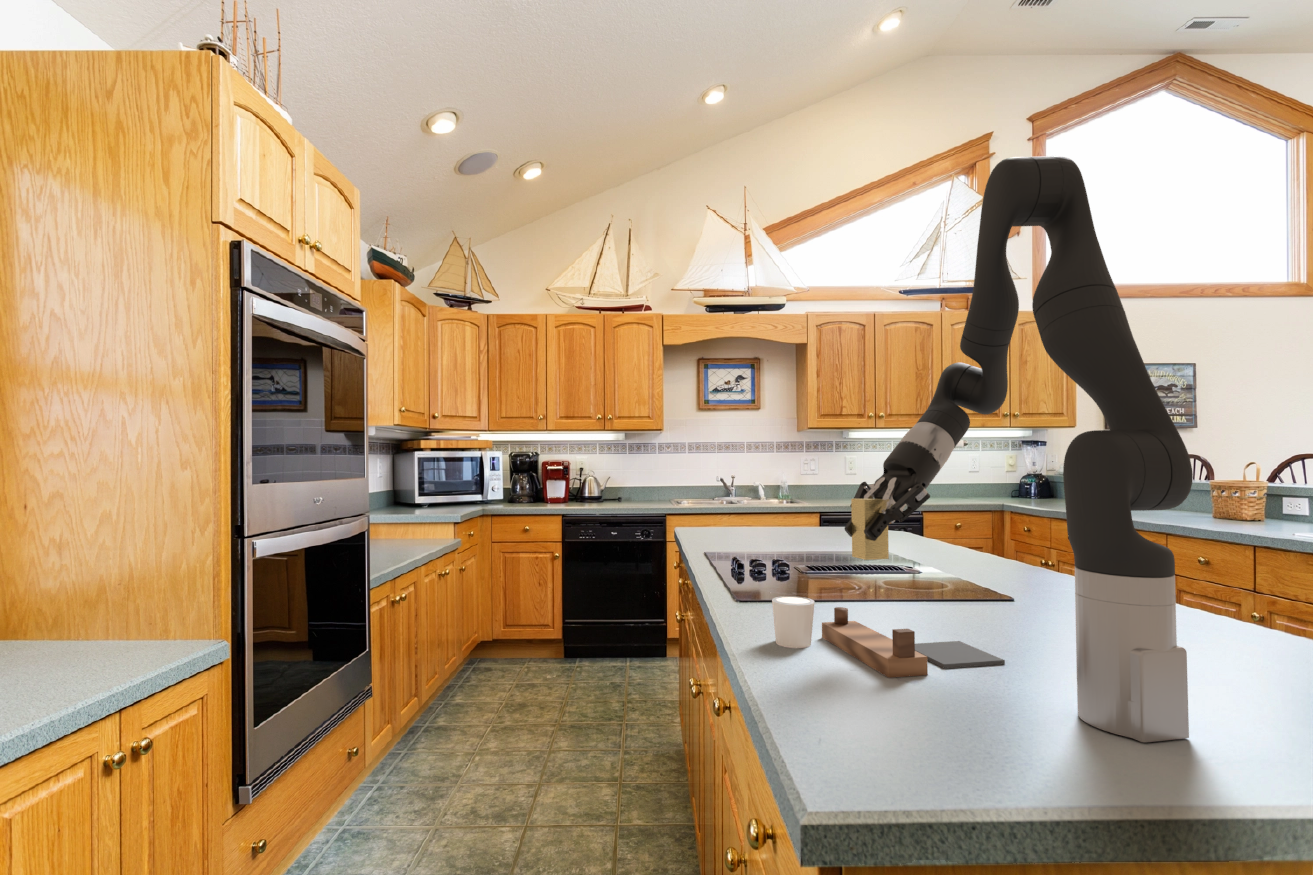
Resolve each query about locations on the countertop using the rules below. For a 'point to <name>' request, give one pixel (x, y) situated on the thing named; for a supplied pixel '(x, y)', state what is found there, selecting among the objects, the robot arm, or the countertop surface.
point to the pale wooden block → (860, 519)
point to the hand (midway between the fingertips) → (859, 534)
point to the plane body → (876, 646)
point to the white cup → (793, 621)
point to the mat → (956, 655)
